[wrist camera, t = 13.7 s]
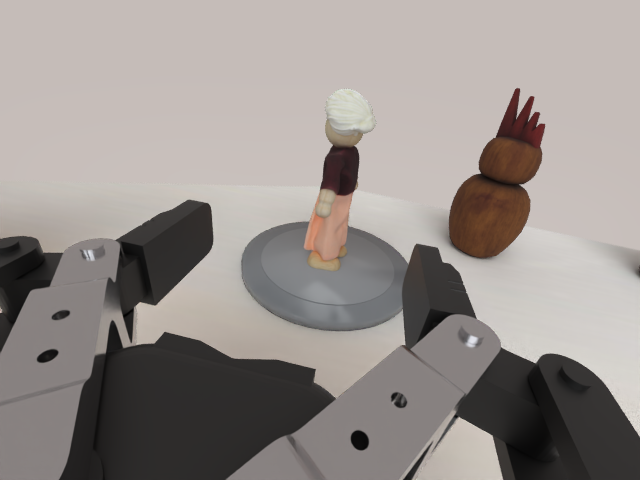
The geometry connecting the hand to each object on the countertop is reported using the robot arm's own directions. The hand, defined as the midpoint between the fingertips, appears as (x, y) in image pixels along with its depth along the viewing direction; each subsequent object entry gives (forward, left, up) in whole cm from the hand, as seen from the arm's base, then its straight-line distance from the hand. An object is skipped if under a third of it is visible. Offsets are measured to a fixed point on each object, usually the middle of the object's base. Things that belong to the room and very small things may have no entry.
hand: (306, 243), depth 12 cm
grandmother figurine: (0, +11, -8) cm, 13 cm away
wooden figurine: (+14, +20, -9) cm, 26 cm away
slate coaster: (0, +11, -8) cm, 14 cm away
